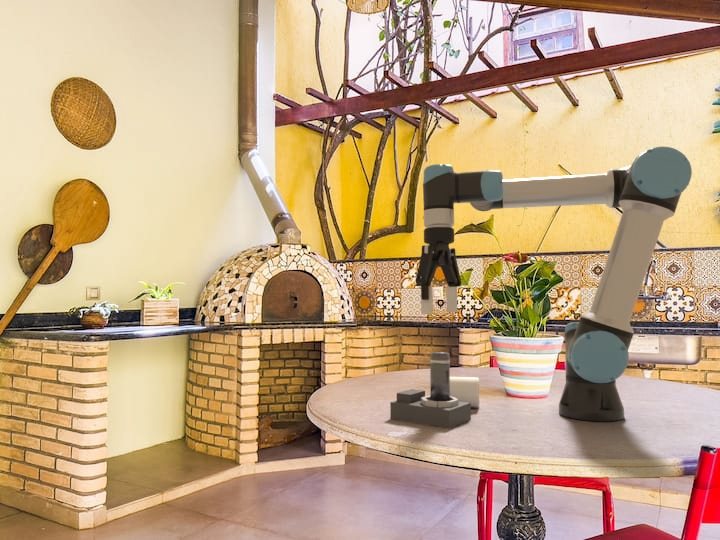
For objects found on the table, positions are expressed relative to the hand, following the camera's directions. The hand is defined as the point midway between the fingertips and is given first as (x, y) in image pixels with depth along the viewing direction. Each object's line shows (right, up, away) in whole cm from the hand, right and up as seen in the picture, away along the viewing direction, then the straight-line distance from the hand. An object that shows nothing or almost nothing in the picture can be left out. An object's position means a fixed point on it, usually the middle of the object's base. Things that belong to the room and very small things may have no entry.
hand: (440, 313), depth 139 cm
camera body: (-3, -26, -3) cm, 26 cm away
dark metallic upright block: (-1, -22, -4) cm, 22 cm away
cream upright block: (+8, -27, +14) cm, 31 cm away
